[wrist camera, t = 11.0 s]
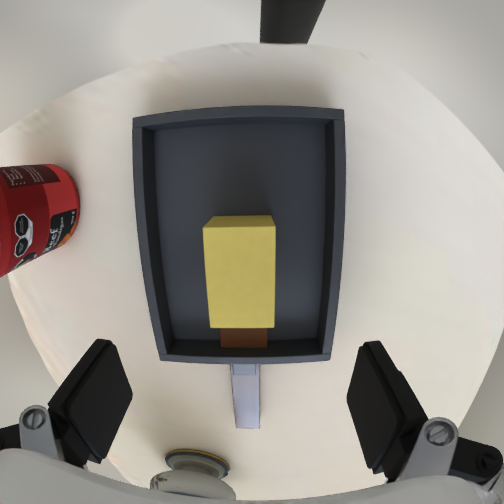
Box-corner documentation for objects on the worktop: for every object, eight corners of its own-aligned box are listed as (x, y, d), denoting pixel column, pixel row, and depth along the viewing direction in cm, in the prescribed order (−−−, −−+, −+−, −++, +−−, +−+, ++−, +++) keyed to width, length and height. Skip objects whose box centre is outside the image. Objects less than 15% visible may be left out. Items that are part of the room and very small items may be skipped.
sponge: (213, 216, 21) (202, 227, 17) (271, 215, 21) (275, 226, 17) (217, 300, 23) (210, 328, 19) (271, 300, 23) (274, 328, 18)
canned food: (46, 256, 22) (-28, 298, 12) (22, 187, 20) (-57, 205, 10) (94, 227, 22) (8, 266, 11) (67, 148, 20) (-24, 148, 9)
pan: (147, 123, 19) (132, 117, 16) (332, 117, 19) (344, 109, 16) (168, 342, 25) (160, 360, 22) (323, 341, 24) (330, 360, 22)
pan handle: (230, 341, 24) (227, 359, 22) (259, 340, 24) (259, 359, 22) (236, 417, 28) (235, 435, 25) (259, 417, 27) (259, 435, 25)
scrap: (219, 300, 23) (217, 307, 22) (267, 300, 23) (268, 307, 22) (222, 340, 24) (220, 347, 23) (267, 340, 24) (267, 347, 23)
